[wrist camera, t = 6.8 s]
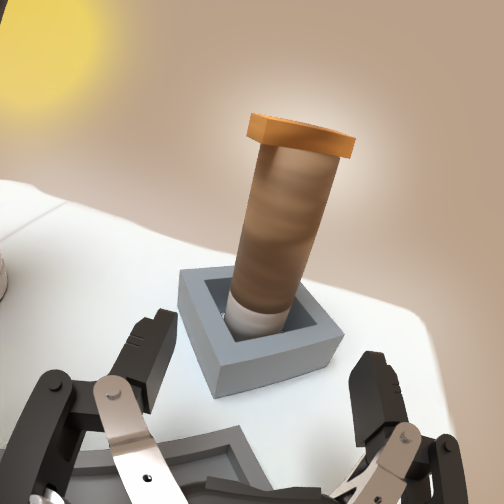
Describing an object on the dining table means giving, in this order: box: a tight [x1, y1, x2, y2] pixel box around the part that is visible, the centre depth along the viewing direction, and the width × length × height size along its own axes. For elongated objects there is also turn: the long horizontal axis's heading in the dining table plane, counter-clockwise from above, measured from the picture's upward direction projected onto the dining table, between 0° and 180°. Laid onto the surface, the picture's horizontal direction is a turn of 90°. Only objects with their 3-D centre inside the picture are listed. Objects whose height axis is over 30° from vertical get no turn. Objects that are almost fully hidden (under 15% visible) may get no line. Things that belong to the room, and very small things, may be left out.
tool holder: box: [177, 266, 345, 398], centre depth 24 cm, size 10×10×4 cm
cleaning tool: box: [224, 113, 356, 342], centre depth 21 cm, size 6×5×17 cm
